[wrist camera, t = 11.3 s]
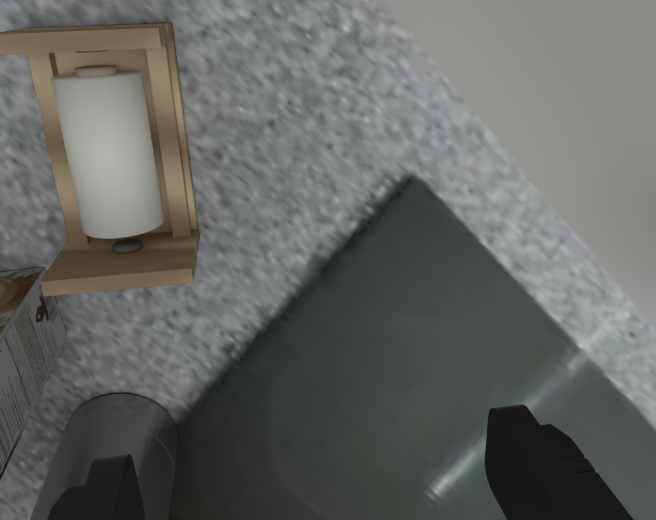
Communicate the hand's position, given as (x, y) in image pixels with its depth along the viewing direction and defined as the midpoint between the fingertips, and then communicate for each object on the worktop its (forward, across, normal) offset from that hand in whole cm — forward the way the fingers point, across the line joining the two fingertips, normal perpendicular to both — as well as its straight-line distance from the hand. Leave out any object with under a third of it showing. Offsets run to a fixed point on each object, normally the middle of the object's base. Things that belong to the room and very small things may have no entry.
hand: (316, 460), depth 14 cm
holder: (+33, +10, -1) cm, 34 cm away
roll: (+29, +10, -1) cm, 31 cm away
